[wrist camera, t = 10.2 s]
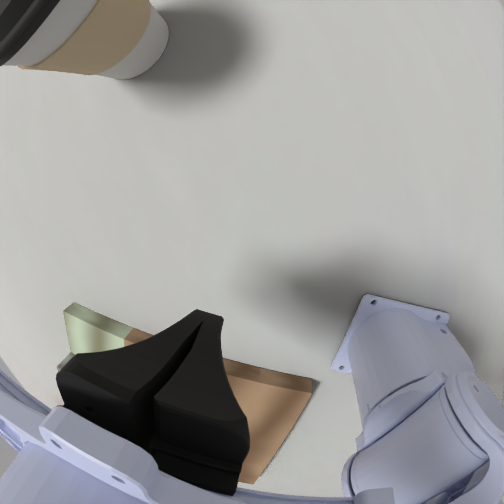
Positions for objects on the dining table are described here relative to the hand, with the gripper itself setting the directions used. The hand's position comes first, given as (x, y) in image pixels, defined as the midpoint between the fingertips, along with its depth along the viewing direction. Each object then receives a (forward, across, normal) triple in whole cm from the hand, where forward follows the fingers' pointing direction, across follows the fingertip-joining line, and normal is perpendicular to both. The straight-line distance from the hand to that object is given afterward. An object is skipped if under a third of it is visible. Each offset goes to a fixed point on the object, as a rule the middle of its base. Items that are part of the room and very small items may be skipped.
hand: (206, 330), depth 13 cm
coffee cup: (+10, +13, -16) cm, 23 cm away
